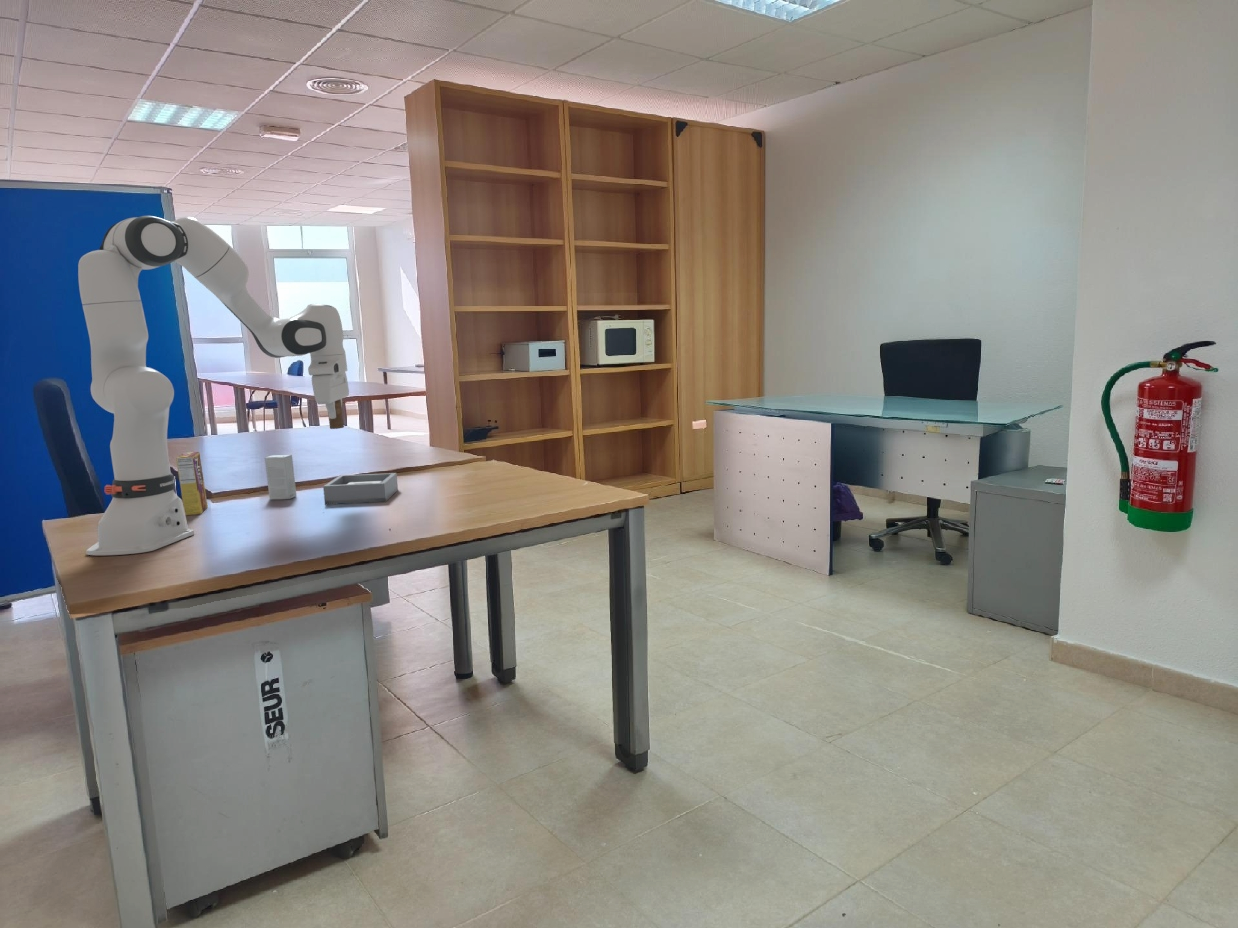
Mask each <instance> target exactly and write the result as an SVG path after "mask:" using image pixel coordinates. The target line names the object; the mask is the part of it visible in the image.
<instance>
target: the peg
mask: <svg viewBox="0 0 1238 928" xmlns="http://www.w3.org/2000/svg"><path fill="white" fill-rule="evenodd" d="M342 408H343V406H342V407H341V400H337V401H335V410H336V411H337V418H335V419H330V418H329V414H328V413H327V415H328V423H329V429H330V430H337V429H343V428H345V426H344V424H345V423H344V417H343V416H344V415H343V409H342Z"/></svg>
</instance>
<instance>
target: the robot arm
mask: <svg viewBox="0 0 1238 928" xmlns="http://www.w3.org/2000/svg"><path fill="white" fill-rule="evenodd" d="M173 262H174V263H176V264H179V266H181V267H183V268H184V269H185V271H187V272H188V273H189V274H190V275H191V276H193V278H195V279H196V280H197V281H198V282H199V283H200V284H202V285H203V286H204V287H205V288H206V289H207V290H208V291H210V292H211V293H212V294H213V295H214V296H215V297H216V298H217V299H218V300H219V301H220V302H221V304H223V305H224V306H225V308H227V309H228V310H229V311H230V312H231V313H232V314H233V315H234V317H236V318H237V320H239V321H240V322H241V324H242V325H243V326H245V327H246V328H247V329H248V330H249V332H250V334H251V335H252V337H253V338H254V340H255V342H256V344H257V346H258V347H259V349H260V351H262V352H263V353H264V354H265V355H267V356H268V357H270V358H274V359H275V358H276V359H279V358H280V359H281V358H285V357H300V356H301V357H302V356H305V355H308V354H310V355H309V356H310V365H308V369H307V371H308V372H307V373H308V376H311V385H312V392H313V395H314V396H313V397H314V399H315V400H314V401H315V402H316V404H317V405H325V408H326V410H327V415H328V414H329V417H328V419H329V418H330V419H335V418H337V411H336V410H335V401H337V400H341V407H342V408H343V399H344V398H347V397H349V395H350V389H349V383H348V377H347V371H348V364H347V355H346V350H345V348H344V331H343V325H342V320H341V316H340V313H339V311H338V309H337V308H336V307H335V306H332V305H329V304H323V303H311V304H308V305H307V306H306V307H305V308H304V309H303V310H302V311H300V312H299V313H297V314H295V315H293V316H291V317H289V318H284V319H283V318H281V319H280V318H277V317H275V316H272V315H270V314H269V313H268V312H267V311H266V310H265V309H264V308H263V306H261V305H260V304H259V303H258V301H256V300H255V299H254V297H253V296H252V295H251V294H250V293H249V292H248V290H247V283H248V281H249V267H248V265H247V264H246V262H245V261H244V259H243V257H241V255H240V254H239V253H238V252H237V251H236V250H235V249H234V248H233V247H232V246H231V245H230V244H228V242H226V240H225V239H223V238H222V237H221V236H220V235H219V234H217V233H216V232H215V231H214V230H213V229H211V228H210V227H208V226H207V225H205V224H204V223H202V222H201V221H200V220H198V219H196V218H194V217H191V216H183V217H179V218H177V219H175V220H173V221H169V220H166V219H164V218H161V217H157V216H153V215H142V216H139V217H137V216H136V217H135V216H134V217H129V218H126V219H123V220H120V221H119V222H116V223H114V224H113V225H112V226H110V227H109V228H108V229H107V230H106V231H105V234H104V236H103V238H102V241H101V244H100V247H99V249H97V250H92V251H90V252H87V253H85V254H84V255H82V256H81V257H80V259H79V261H78V265H77V267H78V269H77V270H78V273H77V276H78V287H79V288H78V289H79V295H80V300H81V304H82V310H83V313H84V319H85V323H86V328H87V332H88V337H89V344H90V359H91V360H90V365H91V367H90V368H91V378H92V379H91V384H90V395H91V397H92V399H93V400H94V401H95V403H96V404H97V405H98V406H99V407H101V409H103V410H105V411H107V412H109V413H111V414H113V416H114V417H113V420H114V421H113V431H112V437H111V440H110V444H109V449H110V456H111V457H110V458H111V464H112V470H113V477H114V479H113V480H112V485H110V484H106V485H105V486H104V493H105V495H111V497H112V499H111V501H110V503H109V505H108V507H107V508H106V509H105V511H104V513H103V515H102V516H101V518H100V520H98V521H99V522H98V523H97V530H96V531H97V533H96V534H97V542H95V544H93V545H92V546H90V547H89V548H87V549H86V550H85V551H86V554H85V555H87V556H89V555H90V556H119V555H130V554H131V555H132V554H141V553H148V552H153V551H156V550H158V549H161V548H163V547H166V546H168V545H170V544H173V543H176V542H178V541H181V540H184V539H185V538H186V539H187V538H188V537H190V536H193V535H195V531H194V528H193V529H192V528H189V526H188V521H187V517H186V516H187V515H185V511H184V507H183V501H182V498H180V497H179V496H178V494H176V492H175V489H176V485H175V484H176V483H175V482H176V481H175V477H174V474H173V473H172V472H171V464H170V457H169V447H168V426H169V419H170V418H169V417H170V407H171V405H172V404H173V401H174V397H175V389H174V386H173V383H172V382H171V380H170V379H169V378H168V377H167V376H166V375H164V374H163V373H161V372H160V371H158V370H156V369H154V368H152V367H147V364H146V363H147V344H148V341H149V331H148V326H147V323H146V322H147V321H146V316H145V312H144V307H143V303H142V299H141V295H140V289H139V276H140V273H141V271H143V270H147V271H148V270H153V269H156V268H160V267H164V266H166V265H169V264H171V263H173Z"/></svg>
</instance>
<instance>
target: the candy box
mask: <svg viewBox="0 0 1238 928" xmlns="http://www.w3.org/2000/svg"><path fill="white" fill-rule="evenodd" d="M175 461H176V465H177V474H178V480H179V486H180V495H181V500H182V502H183V507H184V511H185V516H193V515H194V516H195V515H202V514H203V512H205V511H206V510H207V509H208V499H207V494H206V493H207V492H206V486H205V481H204V473H203V468H202V461H201V455H200V451H193V452H191V451H190V452H183V453H182V454H181V455H178V456H177V457H176V458H175Z"/></svg>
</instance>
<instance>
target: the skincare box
mask: <svg viewBox="0 0 1238 928" xmlns="http://www.w3.org/2000/svg"><path fill="white" fill-rule="evenodd" d="M293 460H294V459H293V454H278V455H277V454H273V455H269V456H266V457H264V463H265V464H264V465H265V470H266V471H265V472H266V479H267V489H268V498H269V500H270V501H271V500H290V499H293V498H295V497H297V487H296V480H295V471H294V463H293V462H294V461H293Z"/></svg>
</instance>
